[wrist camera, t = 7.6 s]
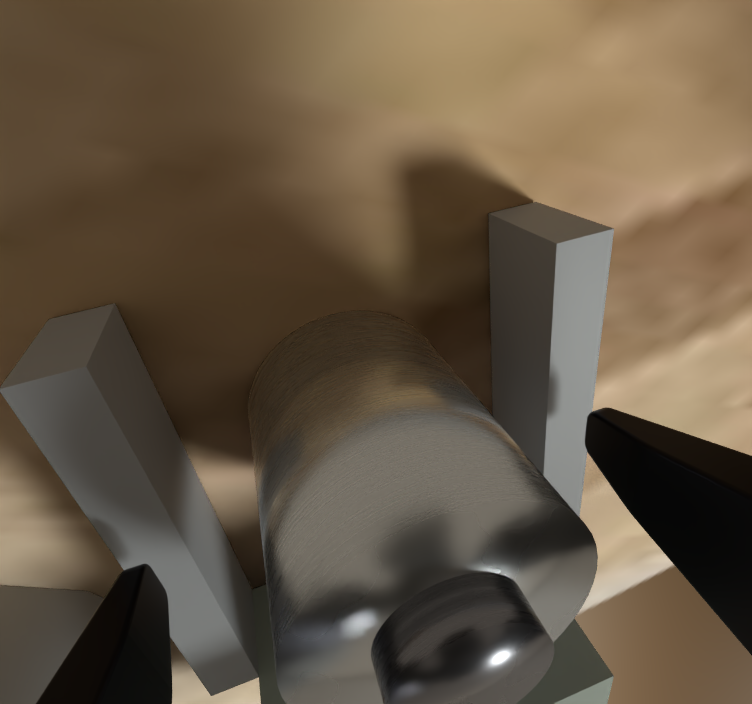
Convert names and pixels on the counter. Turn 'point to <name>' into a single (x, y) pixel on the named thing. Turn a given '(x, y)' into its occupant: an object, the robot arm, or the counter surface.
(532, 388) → the grey u-shaped bracket
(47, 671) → the cup
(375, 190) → the counter surface
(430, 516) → the bottle
